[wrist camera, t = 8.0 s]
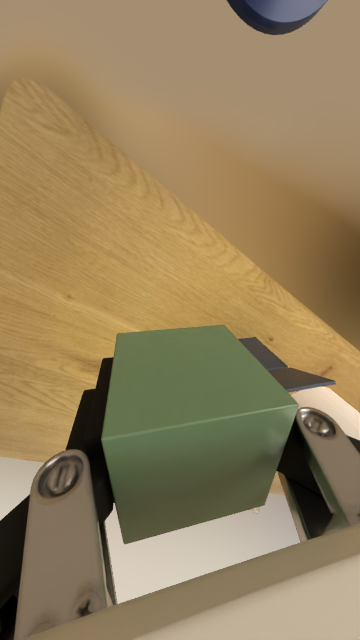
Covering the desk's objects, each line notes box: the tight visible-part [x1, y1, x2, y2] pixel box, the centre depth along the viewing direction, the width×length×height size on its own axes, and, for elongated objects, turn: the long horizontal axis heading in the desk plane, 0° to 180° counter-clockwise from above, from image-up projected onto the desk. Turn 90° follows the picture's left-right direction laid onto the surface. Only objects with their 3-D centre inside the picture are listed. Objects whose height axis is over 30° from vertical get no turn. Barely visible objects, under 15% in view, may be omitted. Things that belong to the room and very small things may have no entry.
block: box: [101, 325, 299, 544], centre depth 8 cm, size 5×5×5 cm
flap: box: [268, 368, 336, 392], centre depth 26 cm, size 7×13×1 cm
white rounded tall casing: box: [291, 386, 360, 440], centre depth 37 cm, size 35×11×21 cm
